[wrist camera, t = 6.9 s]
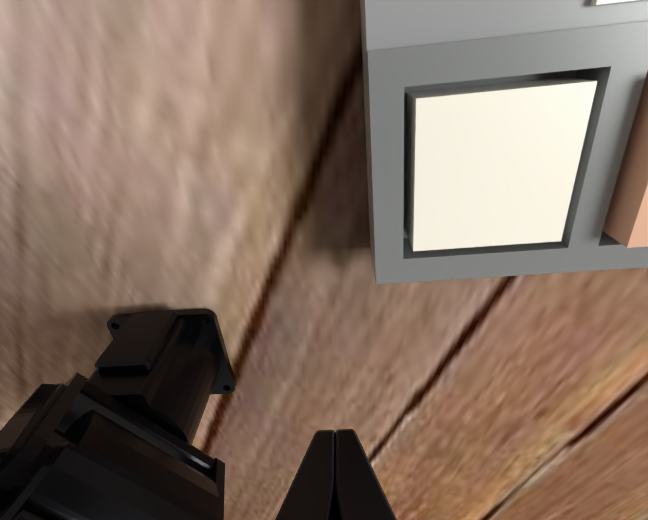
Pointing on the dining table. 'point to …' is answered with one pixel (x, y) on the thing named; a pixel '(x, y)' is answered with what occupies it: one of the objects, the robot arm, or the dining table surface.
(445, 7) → the keypad
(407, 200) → the ivory key
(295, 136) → the dining table surface
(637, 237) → the terracotta key
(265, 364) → the dining table surface
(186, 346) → the robot arm
